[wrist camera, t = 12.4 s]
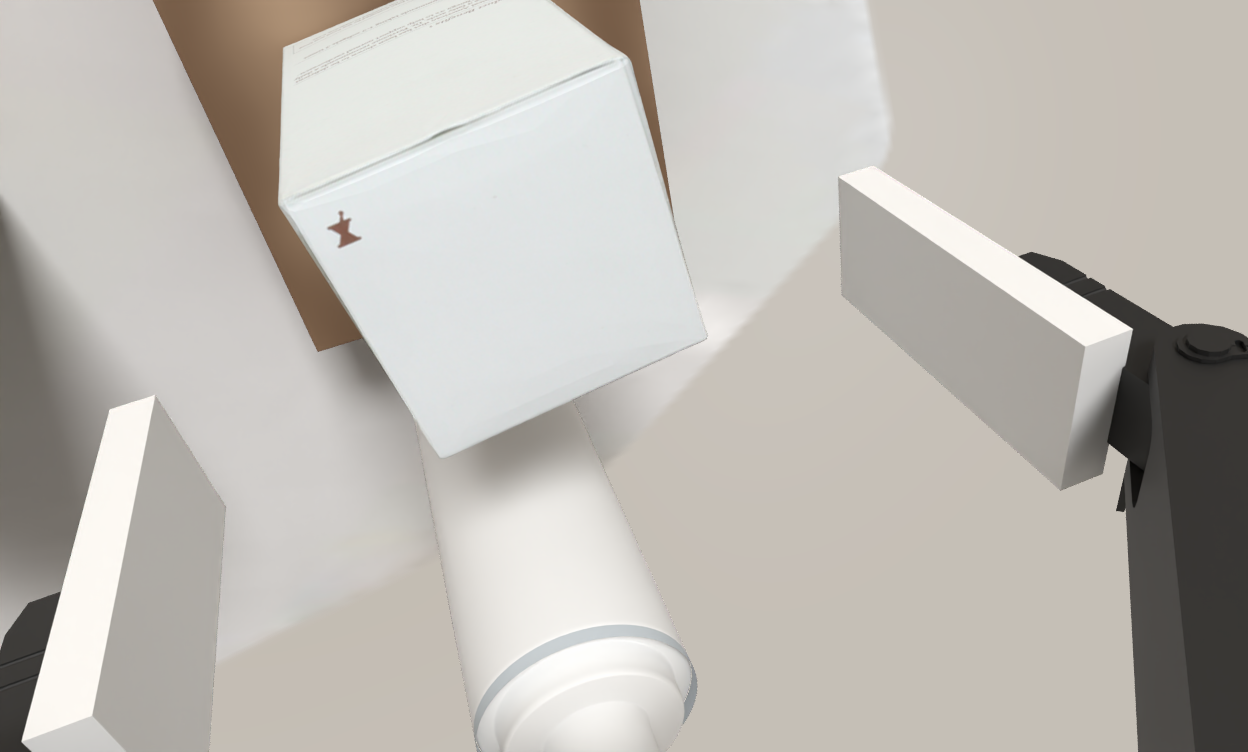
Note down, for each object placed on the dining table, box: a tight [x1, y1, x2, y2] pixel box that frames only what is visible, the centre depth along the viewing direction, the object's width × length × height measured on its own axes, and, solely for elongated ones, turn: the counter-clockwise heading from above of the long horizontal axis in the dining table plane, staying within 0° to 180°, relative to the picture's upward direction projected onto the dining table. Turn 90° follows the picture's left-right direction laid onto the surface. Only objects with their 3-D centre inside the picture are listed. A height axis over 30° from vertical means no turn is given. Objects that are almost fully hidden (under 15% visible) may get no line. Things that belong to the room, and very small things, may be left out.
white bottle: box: [414, 400, 697, 752], centre depth 31 cm, size 7×7×25 cm
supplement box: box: [278, 0, 708, 459], centre depth 24 cm, size 7×7×13 cm
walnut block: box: [153, 0, 674, 352], centre depth 31 cm, size 14×14×5 cm
